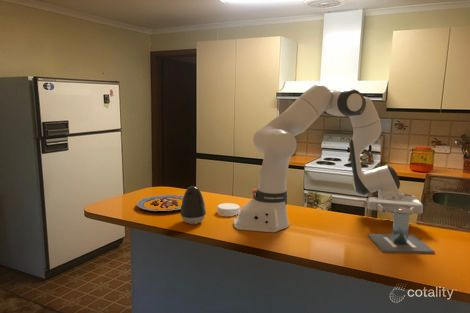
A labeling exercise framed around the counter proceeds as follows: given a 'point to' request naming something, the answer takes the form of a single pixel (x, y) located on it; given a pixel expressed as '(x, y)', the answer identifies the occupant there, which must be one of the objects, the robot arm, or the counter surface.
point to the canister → (400, 225)
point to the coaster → (228, 209)
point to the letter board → (412, 245)
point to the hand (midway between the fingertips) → (396, 211)
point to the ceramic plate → (163, 199)
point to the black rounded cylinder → (193, 206)
